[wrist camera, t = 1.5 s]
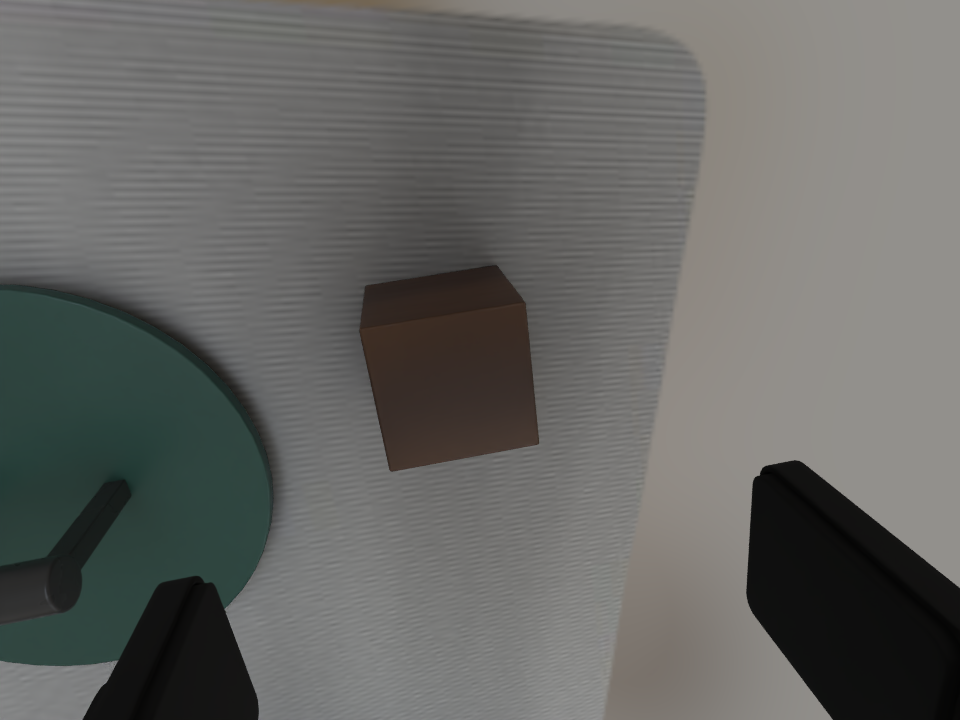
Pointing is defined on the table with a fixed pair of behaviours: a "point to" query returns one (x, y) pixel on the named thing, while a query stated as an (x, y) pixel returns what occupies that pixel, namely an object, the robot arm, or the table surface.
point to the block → (449, 366)
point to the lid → (113, 477)
